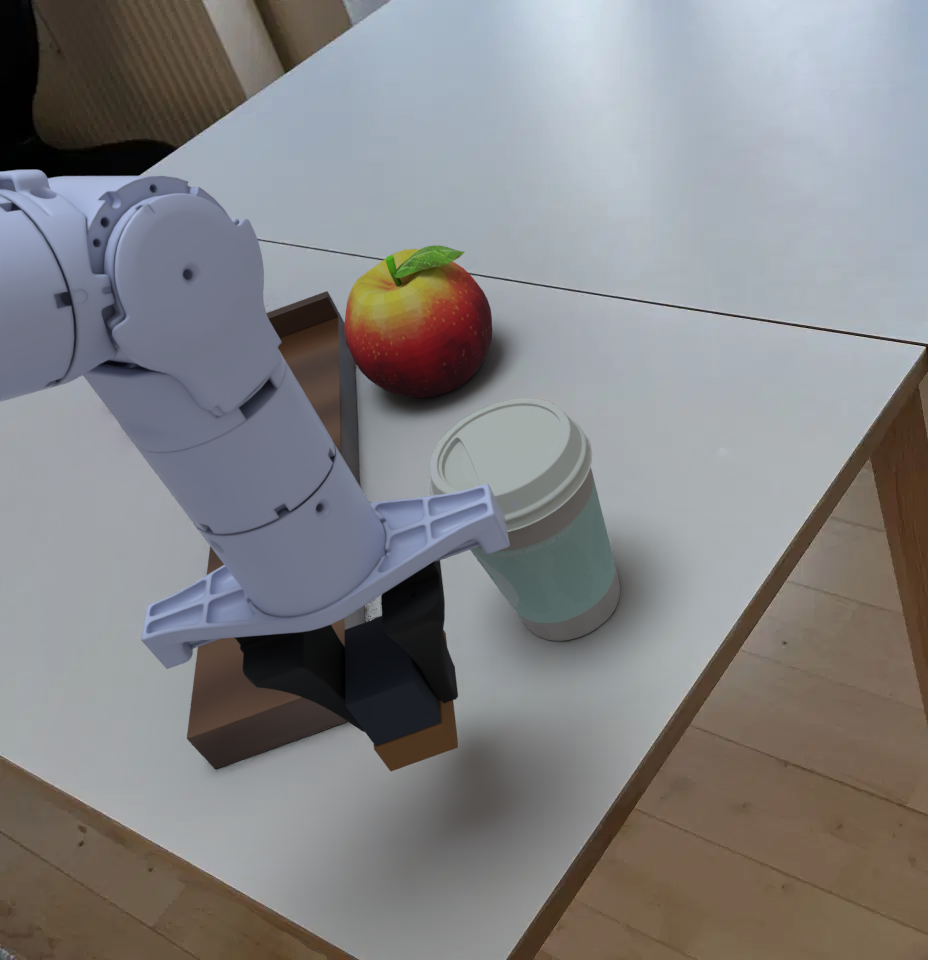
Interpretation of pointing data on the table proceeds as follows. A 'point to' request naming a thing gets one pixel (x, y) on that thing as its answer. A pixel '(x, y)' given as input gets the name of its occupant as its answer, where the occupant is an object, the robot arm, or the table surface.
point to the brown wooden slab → (218, 672)
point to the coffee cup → (536, 512)
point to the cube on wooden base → (394, 699)
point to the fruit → (418, 323)
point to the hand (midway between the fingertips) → (409, 698)
